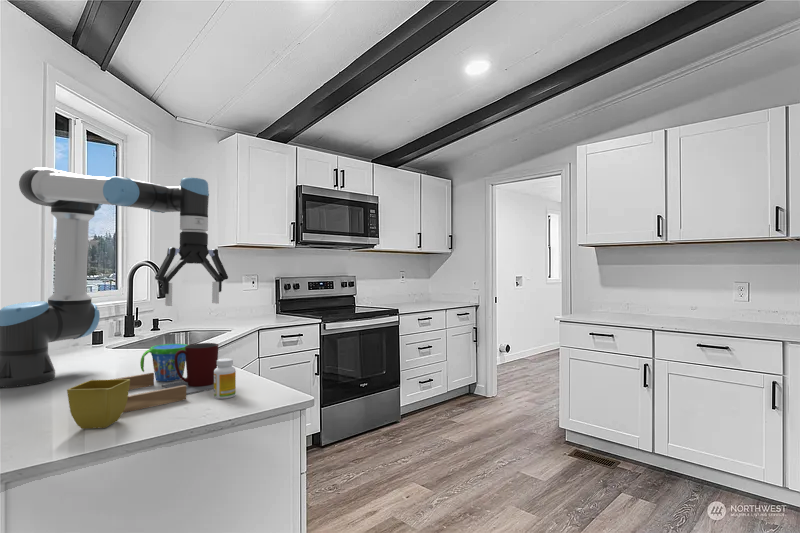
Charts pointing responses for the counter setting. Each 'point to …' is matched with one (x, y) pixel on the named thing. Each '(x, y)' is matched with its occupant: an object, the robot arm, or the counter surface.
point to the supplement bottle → (224, 379)
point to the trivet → (189, 387)
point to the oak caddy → (151, 393)
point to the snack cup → (166, 361)
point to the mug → (199, 363)
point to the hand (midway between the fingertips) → (192, 304)
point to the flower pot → (98, 402)
